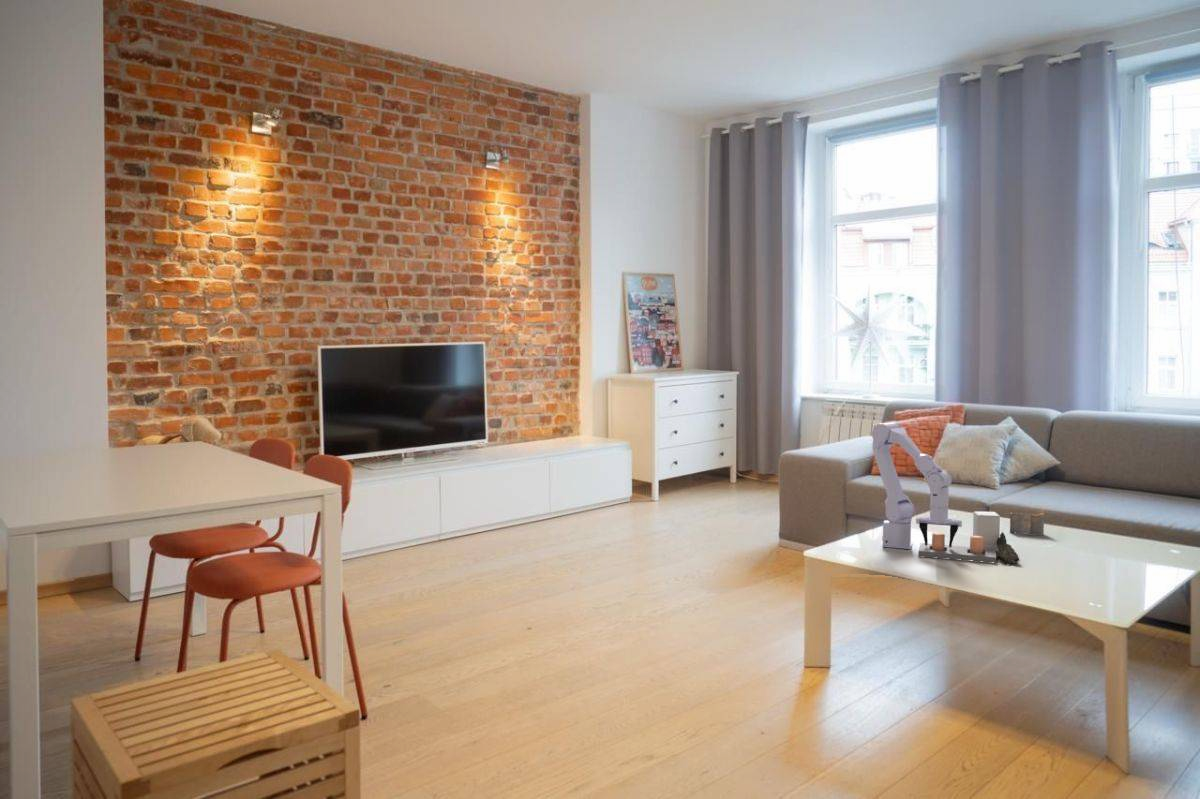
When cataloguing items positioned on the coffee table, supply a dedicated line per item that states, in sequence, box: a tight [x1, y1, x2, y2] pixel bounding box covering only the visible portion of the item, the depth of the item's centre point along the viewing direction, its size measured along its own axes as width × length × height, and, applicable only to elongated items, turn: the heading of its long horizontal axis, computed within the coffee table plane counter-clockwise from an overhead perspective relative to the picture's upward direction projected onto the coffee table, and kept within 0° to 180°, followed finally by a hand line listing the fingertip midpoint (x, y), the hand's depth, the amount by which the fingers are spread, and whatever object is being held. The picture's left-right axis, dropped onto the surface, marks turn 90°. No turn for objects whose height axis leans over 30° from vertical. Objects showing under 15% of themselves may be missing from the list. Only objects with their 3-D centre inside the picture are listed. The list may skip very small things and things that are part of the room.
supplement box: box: [972, 511, 1001, 552], centre depth 309 cm, size 7×7×13 cm
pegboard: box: [917, 542, 997, 564], centre depth 300 cm, size 24×12×2 cm, turn 67°
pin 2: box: [969, 535, 983, 554], centre depth 297 cm, size 4×4×7 cm
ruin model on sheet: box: [1009, 509, 1045, 536], centre depth 332 cm, size 11×3×10 cm, turn 64°
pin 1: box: [931, 532, 946, 551], centre depth 302 cm, size 4×4×7 cm
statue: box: [997, 531, 1020, 566], centre depth 297 cm, size 6×6×20 cm
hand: (938, 545), depth 302 cm, fingers open, 7 cm apart
